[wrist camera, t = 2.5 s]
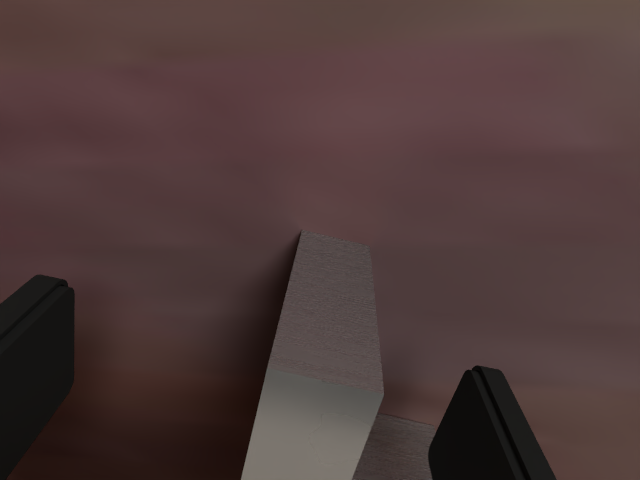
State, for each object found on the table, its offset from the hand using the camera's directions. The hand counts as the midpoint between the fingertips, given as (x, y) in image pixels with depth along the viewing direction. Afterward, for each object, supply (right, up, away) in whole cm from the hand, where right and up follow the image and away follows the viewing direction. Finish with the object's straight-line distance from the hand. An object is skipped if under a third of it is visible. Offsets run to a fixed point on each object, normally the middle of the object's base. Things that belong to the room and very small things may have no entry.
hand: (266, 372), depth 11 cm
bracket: (+3, -1, +4) cm, 5 cm away
